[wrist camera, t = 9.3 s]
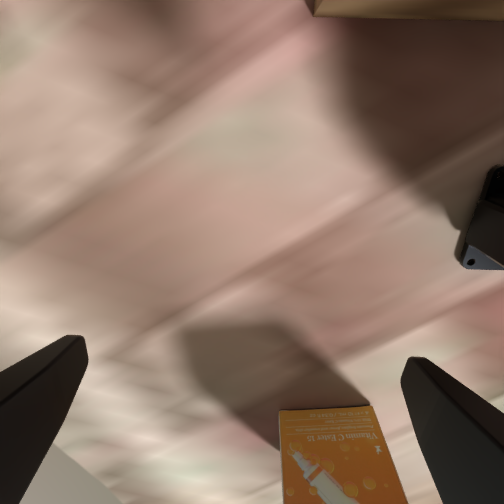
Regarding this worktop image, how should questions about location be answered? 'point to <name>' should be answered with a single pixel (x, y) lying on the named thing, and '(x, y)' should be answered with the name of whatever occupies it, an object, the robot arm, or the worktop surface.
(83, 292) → the worktop surface
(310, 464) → the small box
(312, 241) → the worktop surface
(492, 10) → the walnut block
